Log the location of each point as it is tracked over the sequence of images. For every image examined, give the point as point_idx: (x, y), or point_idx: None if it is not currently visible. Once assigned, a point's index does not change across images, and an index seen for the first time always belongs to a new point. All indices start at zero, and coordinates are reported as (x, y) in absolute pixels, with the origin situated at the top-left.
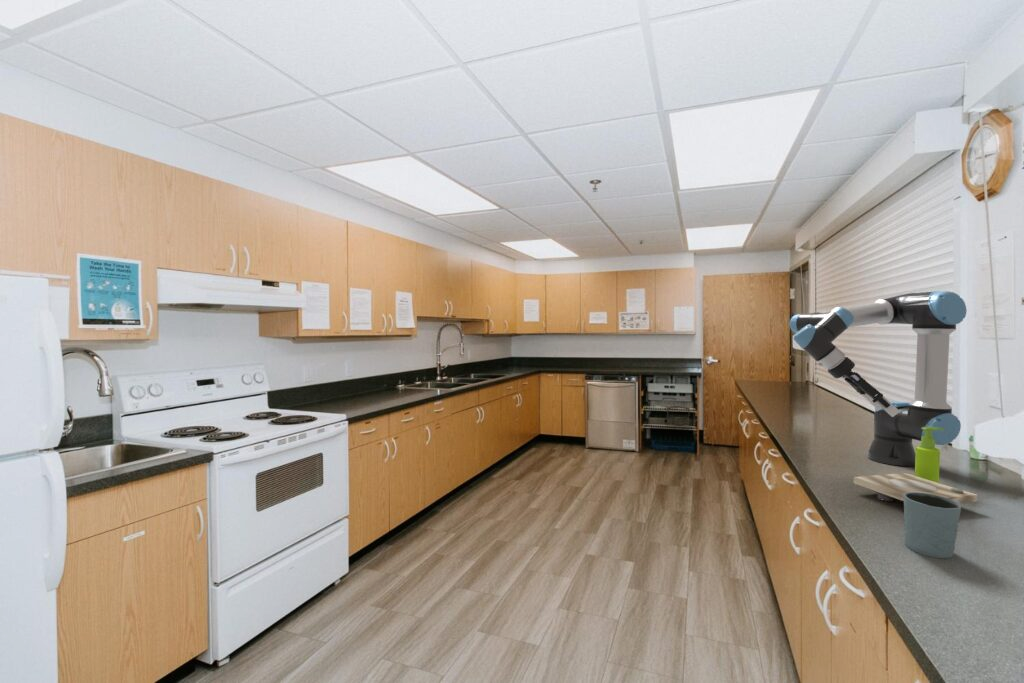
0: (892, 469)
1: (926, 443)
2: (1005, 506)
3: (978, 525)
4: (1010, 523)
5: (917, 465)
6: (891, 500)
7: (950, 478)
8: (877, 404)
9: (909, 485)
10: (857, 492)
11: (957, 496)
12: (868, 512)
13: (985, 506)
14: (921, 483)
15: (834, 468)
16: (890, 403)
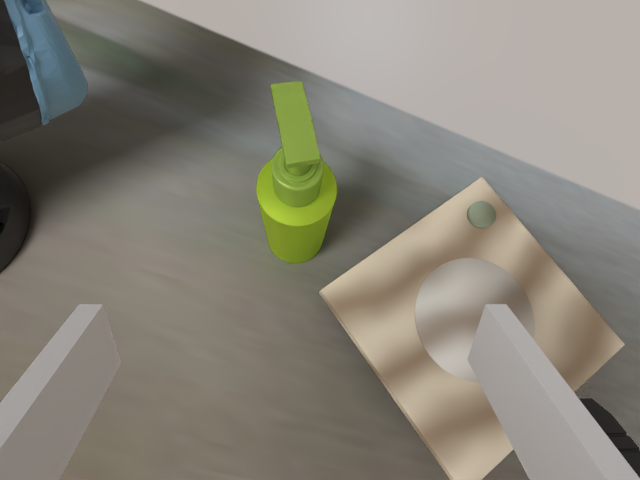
0: (86, 261)
1: (319, 188)
2: (376, 115)
3: (559, 231)
4: (505, 161)
5: (307, 244)
6: None
7: (149, 131)
8: (92, 380)
9: None
10: (431, 458)
11: (527, 232)
12: None
13: (398, 156)
14: (445, 284)
15: (136, 477)
16: (570, 392)
